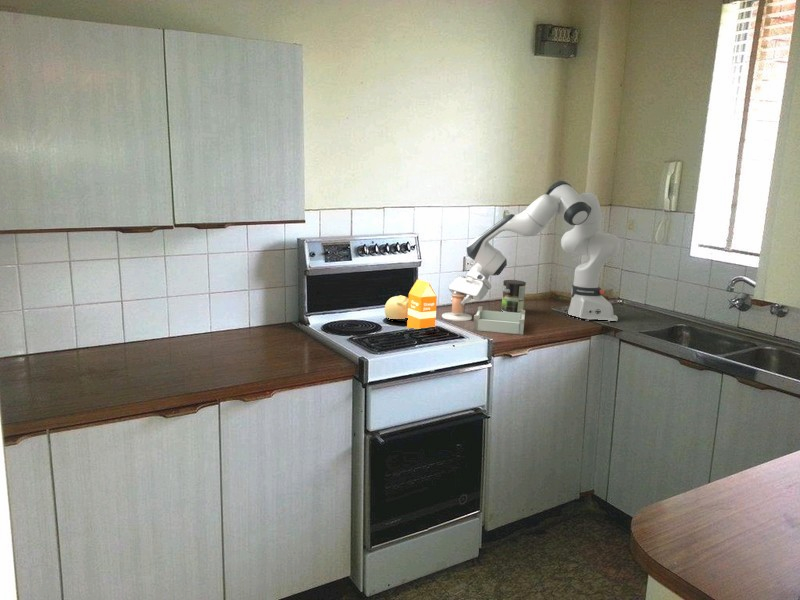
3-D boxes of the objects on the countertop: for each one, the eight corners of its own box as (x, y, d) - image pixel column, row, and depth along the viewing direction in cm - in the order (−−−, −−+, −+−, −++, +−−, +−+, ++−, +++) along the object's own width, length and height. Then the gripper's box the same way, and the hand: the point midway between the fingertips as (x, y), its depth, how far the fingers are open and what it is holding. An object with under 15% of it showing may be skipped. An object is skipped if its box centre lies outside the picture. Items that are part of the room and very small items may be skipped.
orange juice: (422, 327, 275) (425, 278, 271) (435, 332, 268) (438, 282, 264) (406, 328, 271) (409, 279, 267) (418, 333, 263) (421, 283, 260)
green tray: (524, 323, 290) (525, 310, 288) (522, 334, 270) (524, 320, 269) (477, 319, 293) (478, 306, 292) (473, 330, 274) (474, 315, 273)
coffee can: (507, 314, 307) (509, 283, 305) (497, 309, 317) (499, 279, 314) (527, 313, 311) (529, 283, 308) (517, 309, 320) (519, 279, 317)
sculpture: (407, 324, 278) (409, 299, 276) (380, 321, 281) (381, 296, 279) (415, 319, 289) (417, 294, 286) (389, 316, 292) (390, 291, 290)
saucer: (473, 316, 300) (473, 313, 300) (470, 322, 288) (470, 320, 287) (444, 313, 302) (444, 311, 302) (440, 319, 290) (440, 317, 290)
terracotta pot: (464, 311, 297) (465, 293, 295) (463, 314, 291) (464, 295, 290) (451, 310, 298) (452, 292, 296) (449, 313, 292) (450, 294, 291)
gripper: (456, 270, 304) (438, 293, 300) (487, 278, 287) (468, 302, 284) (463, 279, 307) (445, 302, 303) (494, 287, 290) (475, 311, 287)
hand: (456, 302), depth 293 cm, fingers closed on terracotta pot, 5 cm apart
